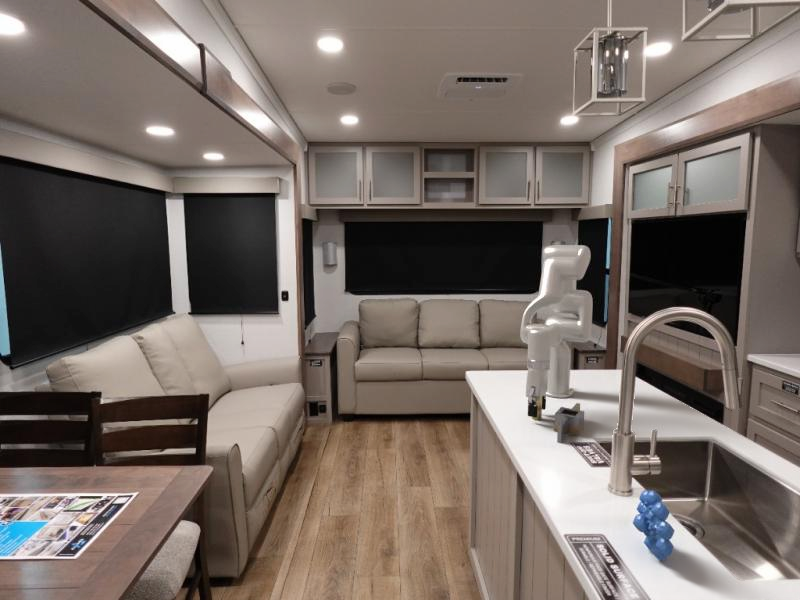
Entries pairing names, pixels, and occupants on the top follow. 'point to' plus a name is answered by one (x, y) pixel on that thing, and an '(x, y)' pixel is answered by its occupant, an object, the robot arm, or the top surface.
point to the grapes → (654, 524)
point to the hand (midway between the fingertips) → (536, 412)
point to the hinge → (568, 422)
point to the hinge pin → (538, 409)
